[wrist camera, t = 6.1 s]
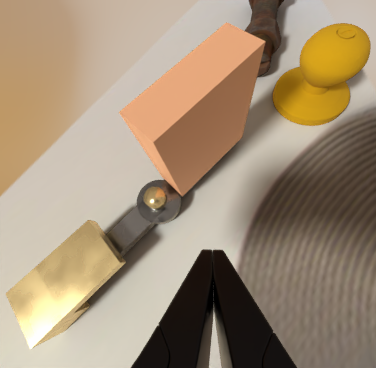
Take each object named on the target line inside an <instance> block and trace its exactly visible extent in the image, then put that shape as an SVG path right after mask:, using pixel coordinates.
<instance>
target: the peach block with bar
mask: <svg viewBox="0 0 376 368" xmlns="http://www.w3.org/2000/svg"><path fill="white" fill-rule="evenodd" d="M265 42H266V41H264V40H262V39H260V38H258V37H256V36H253V35H251V34H249V33H247V32H245V31H243V30H241V29H239V28H237V27H235V26H233V25H231V24H229V23H227V22H226V23H225V24H224V25H223V26H222V27H220V28H219V29H218V30H217V31H216V32H214V33H213V34H212V35H211V36H210V37H208V38H207V39H206V40H205V41H204V42H202V43H201V44H200V45H199V46H198V47H196V48H195V49H194V50H193V51H192V52H191V53H189V54H188V55H187V56H186V57H185V58H183V59H182V60H181V61H180V62H179V63H177V64H176V65H175V66H174V67H173V68H171V69H170V70H169V71H168V72H167V73H165V74H164V75H163V76H162V77H161V78H159V79H158V80H157V81H156V82H155V83H153V84H152V85H151V86H150V87H149V88H147V89H146V90H145V91H144V92H143V93H141V94H140V95H139V96H138V97H137V98H135V99H134V100H133V101H132V102H131V103H129V104H128V105H127V106H126V107H125V108H123V109H122V110H121V111H120V112H119V113H120V115H121V116H122V117H123V119H124V120H125V122H126V123H127V125H128V126H129V128H130V129H131V131H132V132H133V134H134V135H135V137H136V138H137V140H138V141H139V143H140V144H141V146H142V147H143V149H144V150H145V152H146V153H147V155H148V156H149V158H150V159H151V161H152V162H153V164H154V165H155V167H156V168H157V170H158V171H159V173H160V174H161V176H162V177H163V178H164V179H165V180H155V181H152V182H150V183H148V184H146V185H145V186H144V187H143V188H142V189H141V191H140V193H139V195H138V198H137V206H136V207H135V208H134V209H133V210H132V211H131V212H129V213H128V214H127V215H126V216H125V217H124V218H123V219H122V220H121V221H120V222H119V223H118V224H117V225H116V226H115V227H114V228H113V229H112V230H111V231H109V232H108V233H107V234H106V236H107V237H108V239H109V240H110V241H111V243H112V244H113V245H114V247H115V248H116V249H117V251H118V252H119V253H120V255H121V256H122V257H123V256H124V255H125V254H126V253H127V252H128V251H129V250H130V249H131V248H132V247H133V246H134V245H135V244H136V243H137V242H138V241H139V240H140V239H141V238H142V237H143V236H144V235H145V234H146V233H147V232H148V231H149V230H150V229H151V228H152V227H153V226H154V225H155V224H165V223H168V222H170V221H172V220H173V219H174V218H175V217H176V216H177V215H178V213H179V211H180V209H181V197H183V196H184V195H185V194H186V193H187V192H188V191H189V190H190V189H191V188H192V187H193V186H194V185H195V184H196V183H197V182H198V181H199V180H200V179H201V178H202V177H203V176H204V175H205V174H206V173H207V172H208V171H210V170H211V169H212V168H213V167H214V166H215V165H216V164H217V163H218V162H219V161H220V160H221V159H222V158H223V157H224V156H225V155H226V154H227V153H228V152H229V151H230V150H231V149H232V148H233V147H234V146H235V145H236V144H237V143H238V142H239V140H240V139H241V138H242V136H243V132H244V128H245V124H246V120H247V116H248V111H249V107H250V103H251V99H252V95H253V91H254V87H255V83H256V79H257V75H258V70H259V66H260V62H261V58H262V54H263V50H264V46H265ZM151 187H159V188H161V189H162V190H163V191H164V193H165V194H166V196H167V203H166V205H165V206H164V207H163V208H162V209H159V210H154V209H152V208H150V207H149V206H148V205H146V204H145V202H144V194H145V192H146V190H147V189H149V188H151ZM180 196H181V197H180Z"/></svg>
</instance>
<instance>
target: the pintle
mask: <svg viewBox="0 0 376 368" xmlns="http://www.w3.org/2000/svg"><path fill="white" fill-rule="evenodd" d="M144 202H145V204H146V205H148V206H149V207H150V208H152V209H154V210H159V209H162V208H163V207H164V206H165V205H166V203H167V196H166V194H165V193H164V191H163V190H162V189H161V188H159V187H151V188H149V189H147V190H146V192H145V194H144Z"/></svg>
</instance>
